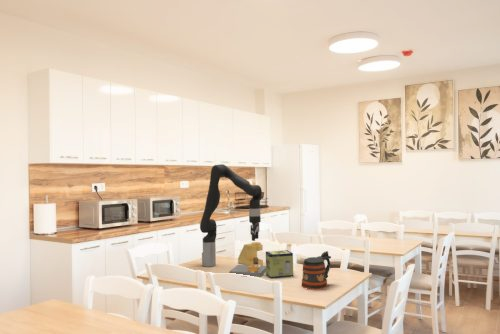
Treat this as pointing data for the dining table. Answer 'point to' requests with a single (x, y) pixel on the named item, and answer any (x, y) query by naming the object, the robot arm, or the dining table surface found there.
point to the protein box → (279, 264)
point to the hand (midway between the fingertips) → (255, 239)
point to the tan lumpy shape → (250, 253)
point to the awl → (255, 261)
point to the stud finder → (253, 268)
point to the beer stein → (316, 272)
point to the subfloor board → (244, 270)
